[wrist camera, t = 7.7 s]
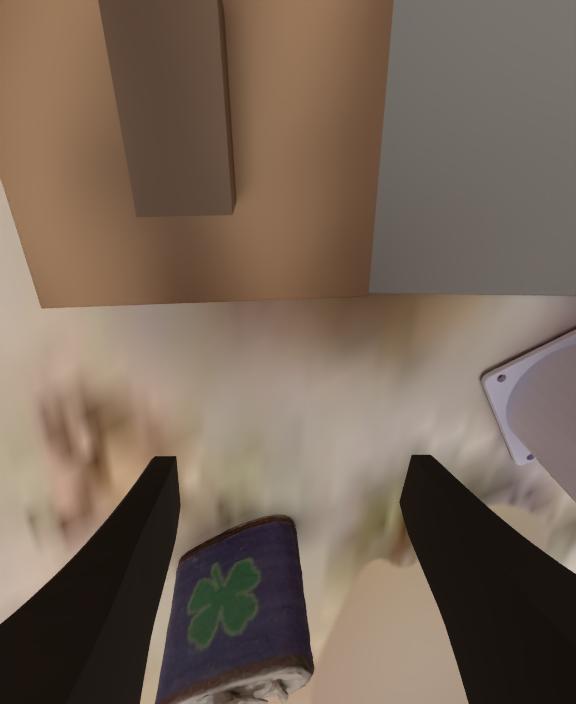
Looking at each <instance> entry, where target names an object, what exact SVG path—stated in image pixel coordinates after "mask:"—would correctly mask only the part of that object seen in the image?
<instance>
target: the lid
mask: <svg viewBox="0 0 576 704" xmlns="http://www.w3.org/2000/svg"><path fill="white" fill-rule="evenodd" d="M393 4H394V0H0V178H1V181H2V184H3V187H4V190H5V194H6V197H7V200H8V203H9V206H10V210H11V213H12V216H13V219H14V222H15V225H16V229H17V232H18V235H19V238H20V241H21V245H22V248H23V251H24V254H25V257H26V261H27V264H28V267H29V270H30V273H31V276H32V280H33V283H34V286H35V289H36V292H37V296H38V299H39V302H40V305H41V308H64V307H91V306H118V305H145V304H172V303H199V302H226V301H253V300H280V299H307V298H334V297H361V296H368V295H369V283H370V271H371V260H372V248H373V236H374V225H375V213H376V202H377V190H378V178H379V167H380V155H381V143H382V132H383V120H384V109H385V97H386V85H387V74H388V62H389V50H390V39H391V27H392V16H393Z"/></svg>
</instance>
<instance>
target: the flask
mask: <svg viewBox="0 0 576 704" xmlns="http://www.w3.org/2000/svg"><path fill="white" fill-rule="evenodd" d="M295 526H296V525H294V523H293V521H292V520H291V519H290V517H287V516H286V515H274V516H268V517H263V518H261V519H258V520H255V521H252V522H248V523H247V524H243V525H240V526H237V527H235V528H233V529H232V530H228V531H227V532H225V533H224V534H222V535H220V536H216V537H215V538H213V539H211V540H209V541H207V542H205V543H204V544H202V545H199V546H198V547H196V548H195V549H192V550H190V551H188V553H186V555H185V556H183V557H182V558H181V560H180V562H179V565H178V568H177V571H176V581H175V587H174V594H173V601H172V607H171V614H170V619H169V624H168V629H167V636H166V643H165V649H164V655H163V661H162V666H161V672H160V678H159V685H158V690H157V696H156V701H155V704H268V701H267V700H264V699H263V698H265V697H273V696H278V697H279V699H280V700H281V702H283V703H284V702H286V701H287V699H288V694H291V693H293V692H294V691H295V690H298V689H300V688H302V687H304V686H305V685H306V683H308V682H309V680H310V678H311V676H312V675H313V672H314V664H313V656H312V652H311V647H310V634H309V627H308V622H307V615H306V614H307V612H306V603H305V598H304V593H303V580H302V570H301V565H300V557H299V549H298V540H297V532H296V528H295Z"/></svg>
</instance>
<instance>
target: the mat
mask: <svg viewBox="0 0 576 704" xmlns="http://www.w3.org/2000/svg"><path fill="white" fill-rule="evenodd" d="M369 293H399V294H474V295H549V296H576V0H394V4H393V16H392V27H391V39H390V50H389V62H388V74H387V85H386V97H385V109H384V120H383V132H382V143H381V155H380V167H379V178H378V190H377V202H376V213H375V225H374V236H373V248H372V260H371V271H370V283H369Z"/></svg>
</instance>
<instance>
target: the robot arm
mask: <svg viewBox="0 0 576 704" xmlns="http://www.w3.org/2000/svg"><path fill="white" fill-rule="evenodd" d="M500 375H502V376H501V377H500V378H498V376H500ZM497 378H498V379H497ZM482 385H483V388H484V390H485V392H486V395H487V397H488V400H489V402H490V405H491V407H492V410H493V412H494V415H495V417H496V420H497V422H498V425H499V427H500V430H501V432H502V435H503V437H504V440H505V442H506V445H507V447H508V450H509V452H510V454H511V457H512V459H513V461H514V462H515V463H516V465H518V466H523V465H526V464H528V463H530V462H533V461H535V460H538V461H539V462H540V464H541V465H542V466H543V467H544V468H545V469H546V470H547V471H548V472H549V474H550V475H551V476H552V477H553V478H554V479H555V480H556V481H557V482H558V483H559V485H560V486H561V487H562V488H563V489H564V490H565V491H566V492H567V493H568V495H569V496H570V497H571V498H572V499H573V500H574V501H575V502H576V329H575V330H573V331H571V332H569V333H567V334H565V335H563V336H561V337H559V338H557V339H555V340H553V341H551V342H549V343H547V344H545V345H543V346H541V347H539V348H537V349H535V350H533V351H531V352H529V353H527V354H525V355H523V356H521V357H519V358H517V359H515V360H513V361H511V362H509V363H507V364H505V365H503V366H501V367H499V368H497V369H495V370H493V371H491V372H489V373H487V374H485V375H484V376H483V378H482ZM400 506H401V510H402V514H403V518H404V521H405V525H406V528H407V532H408V535H409V537H410V540H411V542H412V545H413V547H414V550H415V552H416V555H417V557H418V560H419V562H420V564H421V567H422V569H423V572H424V574H425V576H426V579H427V581H428V584H429V586H430V588H431V591H432V593H433V595H434V598H435V600H436V602H437V605H438V607H439V610H440V613H441V615H442V618H443V621H444V624H445V626H446V630H447V633H448V636H449V639H450V642H451V646H452V649H453V652H454V655H455V658H456V661H457V665H458V668H459V672H460V675H461V678H462V682H463V685H464V689H465V692H466V696H467V699H468V703H469V704H576V574H575V573H573V572H572V571H570V570H569V569H567V568H566V567H565V566H563V565H562V564H560V563H559V562H557V561H556V560H554V559H553V558H552V557H550V556H549V555H548V554H546V553H545V552H543V551H542V550H541V549H539V548H538V547H537V546H535V545H534V544H532V543H531V542H530V541H529V540H527V539H526V538H525V537H523V536H522V535H521V534H519V533H518V532H517V531H516V530H514V529H513V528H512V527H511V526H509V525H508V524H507V523H506V522H505V521H504V520H502V519H501V518H500V517H499V516H498V515H496V514H495V513H494V512H493V511H492V510H491V509H489V508H488V507H487V506H486V505H485V504H484V503H483V502H482V501H480V500H479V499H478V498H477V497H476V496H475V495H474V494H473V493H472V492H470V491H469V490H468V489H467V488H466V487H465V486H464V485H463V484H462V483H461V482H460V481H459V480H457V479H456V478H455V477H454V476H453V475H452V474H451V473H450V472H449V471H448V470H447V469H446V468H445V467H444V466H442V465H441V464H440V463H439V462H438V461H437V460H436V459H435V458H434V457H433V456H431V455H412V456H411V460H410V464H409V468H408V471H407V475H406V479H405V483H404V487H403V490H402V494H401V498H400ZM179 513H180V494H179V483H178V471H177V460H176V456H155V457H154V458H153V459H151V461H150V462H149V464H148V466H147V467H146V468H145V470H144V471H143V473H142V474H141V476H140V477H139V479H138V480H137V481H136V483H135V484H134V485H133V487H132V488H131V490H130V491H129V492H128V494H127V495H126V496H125V497H124V499H123V500H122V501H121V503H120V504H119V505H118V506H117V508H116V509H115V510H114V511H113V513H112V514H111V515H110V516H109V518H108V519H107V520H106V521H105V522H104V523H103V525H102V526H101V527H100V528H99V529H98V530H97V531H96V533H95V534H94V535H93V536H92V537H91V538H90V540H89V541H88V542H87V543H86V544H85V545H84V546H83V547H82V548H81V549H80V550H79V552H78V553H77V554H76V555H75V556H74V557H73V558H72V559H71V560H70V561H69V562H68V563H67V564H66V565H65V566H64V567H63V568H62V569H61V570H60V571H59V572H58V573H57V574H56V575H55V576H54V577H53V578H52V579H51V580H50V581H49V582H47V583H46V584H45V585H44V586H43V587H42V588H41V589H40V590H39V591H38V592H37V593H36V594H35V595H34V596H32V597H31V598H30V599H29V600H28V601H27V602H26V603H25V604H24V605H22V606H21V607H20V608H19V609H18V610H17V611H16V612H14V613H13V614H12V615H11V616H10V617H8V618H7V619H6V620H5V621H4V622H2V623H1V624H0V704H140V699H141V693H142V687H143V680H144V675H145V669H146V663H147V657H148V651H149V645H150V640H151V635H152V631H153V626H154V622H155V618H156V614H157V610H158V606H159V602H160V598H161V595H162V591H163V587H164V583H165V579H166V575H167V572H168V568H169V564H170V560H171V556H172V552H173V548H174V544H175V540H176V534H177V527H178V520H179Z"/></svg>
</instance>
